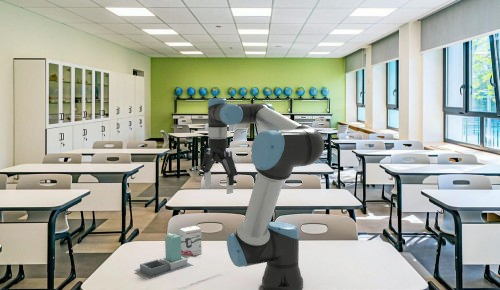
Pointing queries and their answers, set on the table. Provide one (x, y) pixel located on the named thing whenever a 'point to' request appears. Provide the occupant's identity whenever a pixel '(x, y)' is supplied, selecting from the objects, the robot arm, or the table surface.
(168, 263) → the panel
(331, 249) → the table surface
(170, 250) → the plug
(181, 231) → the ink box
